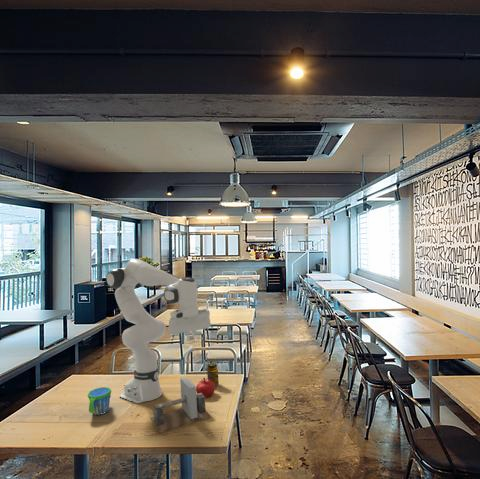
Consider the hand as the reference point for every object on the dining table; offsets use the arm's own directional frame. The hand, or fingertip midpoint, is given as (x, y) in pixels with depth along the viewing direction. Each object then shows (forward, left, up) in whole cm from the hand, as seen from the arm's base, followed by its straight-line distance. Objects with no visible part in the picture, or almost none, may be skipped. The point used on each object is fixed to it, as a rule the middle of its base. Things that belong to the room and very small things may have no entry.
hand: (190, 340), depth 170 cm
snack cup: (-45, -14, -34) cm, 58 cm away
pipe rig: (-3, -8, -34) cm, 35 cm away
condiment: (-5, +28, -34) cm, 45 cm away
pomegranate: (-3, +17, -34) cm, 38 cm away
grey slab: (0, -5, -33) cm, 33 cm away
